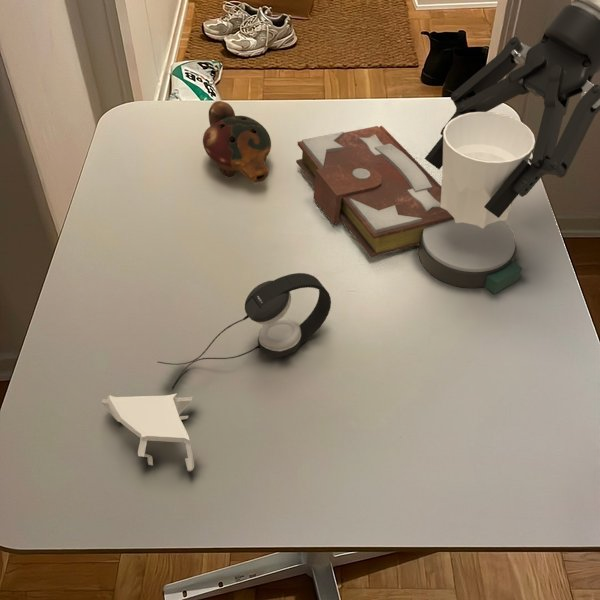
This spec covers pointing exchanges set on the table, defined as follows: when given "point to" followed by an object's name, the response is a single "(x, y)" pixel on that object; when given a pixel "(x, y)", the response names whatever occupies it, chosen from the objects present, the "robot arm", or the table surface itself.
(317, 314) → the headphones
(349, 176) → the book
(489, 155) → the cup
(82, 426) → the table surface
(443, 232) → the scale
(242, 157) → the ocarina
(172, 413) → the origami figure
